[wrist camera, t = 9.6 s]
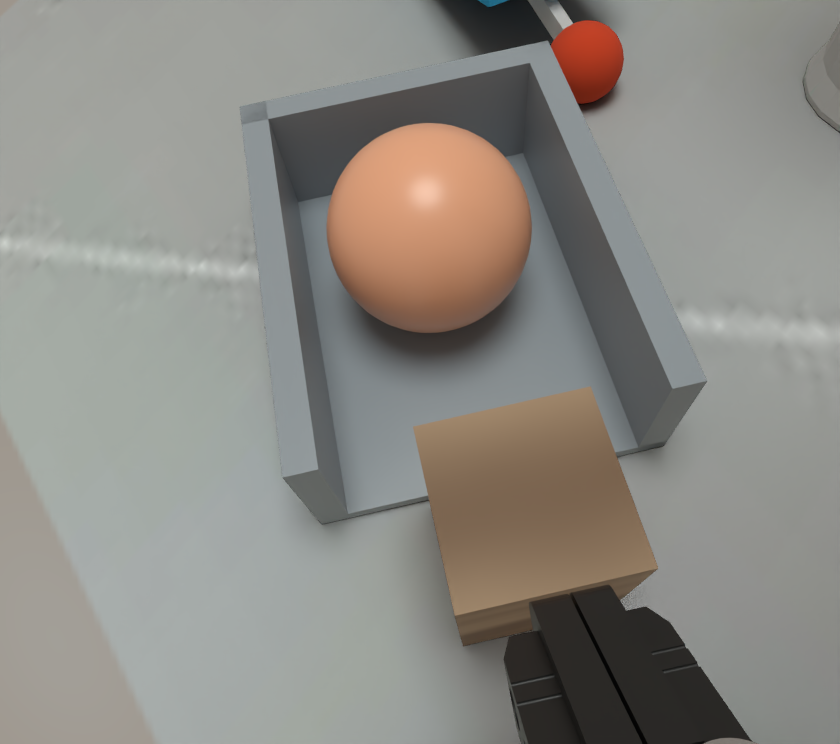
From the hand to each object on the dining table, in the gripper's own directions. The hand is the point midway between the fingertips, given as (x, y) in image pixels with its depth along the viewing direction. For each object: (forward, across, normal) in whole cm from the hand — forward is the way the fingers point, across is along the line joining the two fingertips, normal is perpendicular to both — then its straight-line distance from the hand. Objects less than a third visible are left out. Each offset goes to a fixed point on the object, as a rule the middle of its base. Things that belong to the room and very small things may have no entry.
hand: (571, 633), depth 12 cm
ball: (+13, 0, -6) cm, 15 cm away
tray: (+16, 0, -3) cm, 16 cm away
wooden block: (+8, 0, +4) cm, 9 cm away
